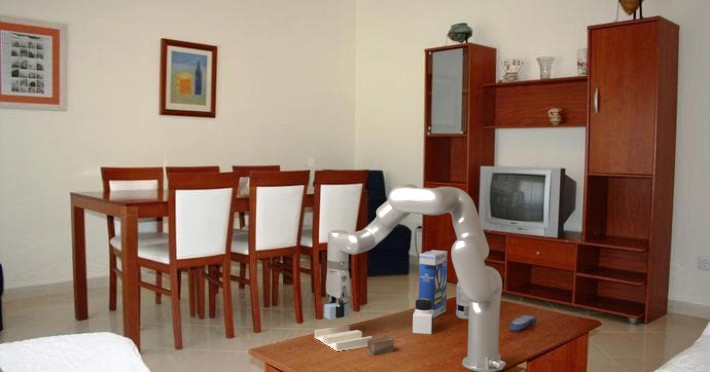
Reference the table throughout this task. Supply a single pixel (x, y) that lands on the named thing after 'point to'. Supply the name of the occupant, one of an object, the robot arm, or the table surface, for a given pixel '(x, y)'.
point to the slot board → (341, 338)
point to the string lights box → (433, 279)
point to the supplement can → (462, 304)
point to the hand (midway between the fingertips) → (336, 315)
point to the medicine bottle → (423, 317)
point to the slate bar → (334, 311)
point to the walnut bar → (380, 345)
